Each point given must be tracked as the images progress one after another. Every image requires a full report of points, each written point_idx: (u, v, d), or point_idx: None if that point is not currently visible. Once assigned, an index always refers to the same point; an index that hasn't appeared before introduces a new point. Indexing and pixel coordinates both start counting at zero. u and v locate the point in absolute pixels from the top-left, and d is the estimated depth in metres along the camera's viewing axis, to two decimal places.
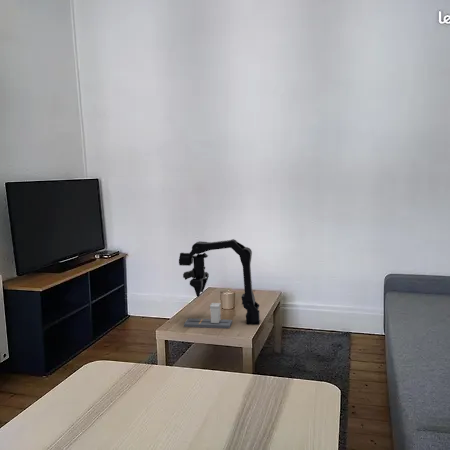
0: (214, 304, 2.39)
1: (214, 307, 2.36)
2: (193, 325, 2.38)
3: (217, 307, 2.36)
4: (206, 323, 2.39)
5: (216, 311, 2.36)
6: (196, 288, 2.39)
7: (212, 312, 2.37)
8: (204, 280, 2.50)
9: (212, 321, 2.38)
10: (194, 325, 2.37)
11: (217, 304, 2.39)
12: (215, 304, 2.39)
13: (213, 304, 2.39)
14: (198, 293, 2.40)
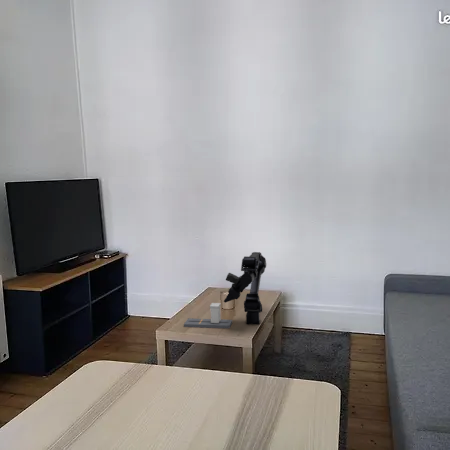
0: (214, 304, 2.39)
1: (214, 307, 2.36)
2: (193, 325, 2.38)
3: (217, 307, 2.36)
4: (206, 323, 2.39)
5: (216, 311, 2.36)
6: (229, 295, 2.32)
7: (212, 312, 2.37)
8: None
9: (212, 321, 2.38)
10: (194, 325, 2.37)
11: (217, 304, 2.39)
12: (215, 304, 2.39)
13: (213, 304, 2.39)
14: (227, 300, 2.33)
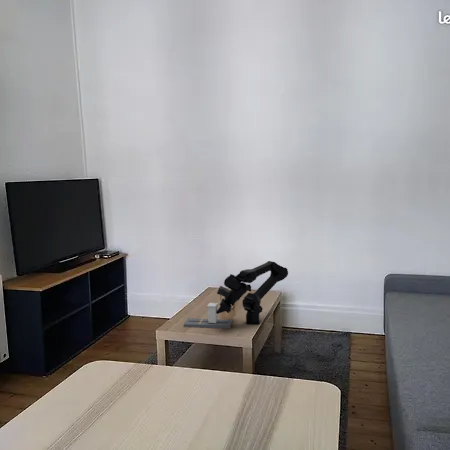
0: (211, 304, 2.39)
1: (211, 307, 2.36)
2: (193, 325, 2.38)
3: (214, 307, 2.36)
4: (206, 323, 2.39)
5: (213, 311, 2.37)
6: (222, 307, 2.36)
7: (209, 312, 2.37)
8: None
9: (209, 321, 2.38)
10: (194, 325, 2.37)
11: (214, 304, 2.39)
12: (212, 304, 2.39)
13: (210, 304, 2.39)
14: (220, 311, 2.37)
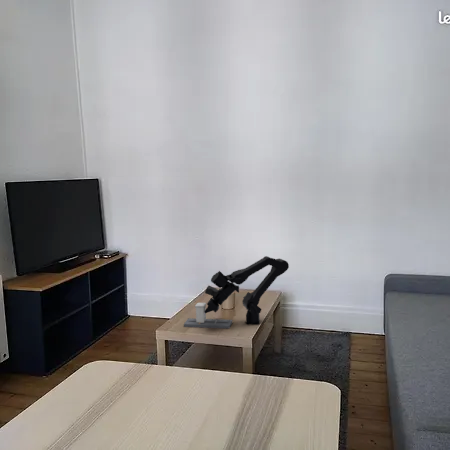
0: (199, 304, 2.40)
1: (199, 307, 2.37)
2: (193, 325, 2.38)
3: (202, 307, 2.37)
4: (206, 323, 2.39)
5: (201, 311, 2.38)
6: (210, 306, 2.38)
7: (197, 312, 2.38)
8: None
9: (197, 321, 2.39)
10: (194, 325, 2.37)
11: (202, 304, 2.40)
12: (200, 304, 2.40)
13: (198, 304, 2.40)
14: (207, 311, 2.39)
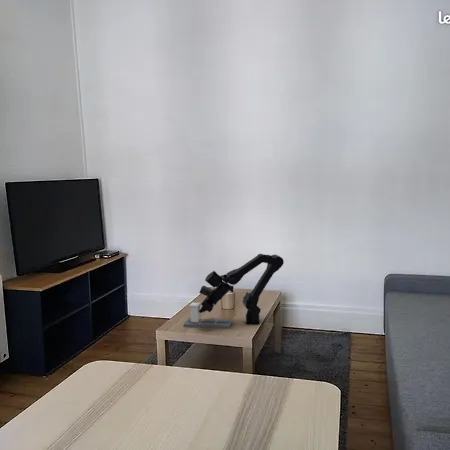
0: (194, 304, 2.41)
1: (193, 306, 2.38)
2: (193, 325, 2.38)
3: (197, 306, 2.38)
4: (206, 323, 2.39)
5: (196, 310, 2.38)
6: None
7: (192, 311, 2.39)
8: None
9: (192, 320, 2.39)
10: (194, 325, 2.37)
11: (197, 303, 2.41)
12: (195, 303, 2.41)
13: (193, 303, 2.41)
14: (202, 310, 2.39)
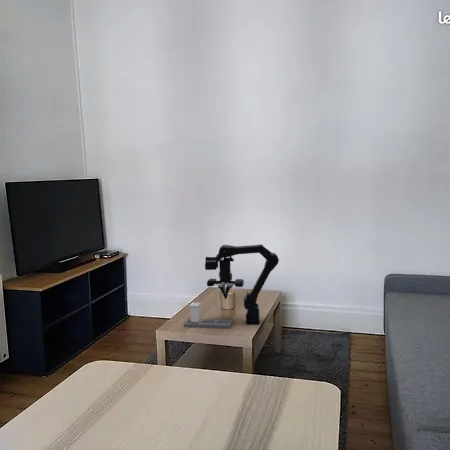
0: (194, 304, 2.41)
1: (193, 306, 2.38)
2: (193, 325, 2.38)
3: (197, 306, 2.38)
4: (206, 323, 2.39)
5: (196, 310, 2.38)
6: None
7: (192, 311, 2.39)
8: (226, 287, 2.39)
9: (192, 320, 2.39)
10: (194, 325, 2.37)
11: (197, 303, 2.41)
12: (195, 303, 2.41)
13: (193, 303, 2.41)
14: None
